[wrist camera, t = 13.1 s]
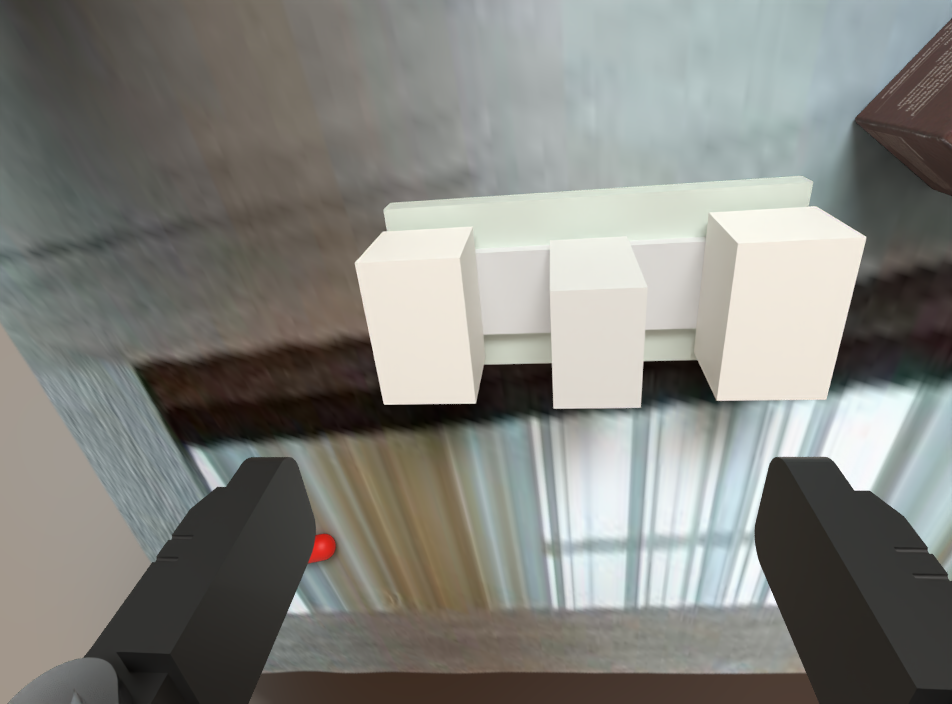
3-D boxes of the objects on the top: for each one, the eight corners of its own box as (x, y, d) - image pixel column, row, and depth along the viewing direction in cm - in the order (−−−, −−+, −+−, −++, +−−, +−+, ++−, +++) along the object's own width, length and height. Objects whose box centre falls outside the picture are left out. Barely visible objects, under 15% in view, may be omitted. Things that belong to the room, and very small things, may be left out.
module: (553, 344, 32) (553, 414, 26) (549, 240, 29) (549, 291, 23) (623, 342, 32) (640, 413, 26) (626, 236, 29) (647, 287, 23)
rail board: (415, 354, 37) (387, 419, 30) (390, 203, 32) (350, 242, 26) (770, 345, 33) (821, 416, 27) (801, 175, 29) (872, 212, 22)
